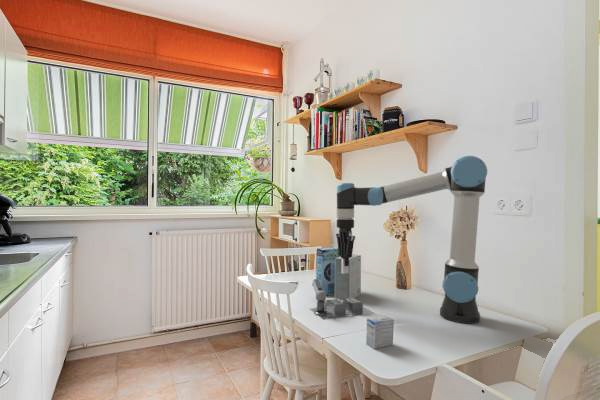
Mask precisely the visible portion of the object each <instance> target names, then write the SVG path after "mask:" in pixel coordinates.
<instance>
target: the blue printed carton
mask: <svg viewBox="0 0 600 400" xmlns="http://www.w3.org/2000/svg"><path fill="white" fill-rule="evenodd" d="M337 257H340V256H339V252H338V246H332V247H322V248H316V264H315V265H316V266H315V268H316V269H315V279H318V280H319V282H320V284H321V286H322V288H323V290H324V291H326V296H327V295H328V296H329V295H333V294H334V295H335V258H337Z"/></svg>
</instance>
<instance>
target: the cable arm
mask: <svg viewBox="0 0 600 400" xmlns="http://www.w3.org/2000/svg"><path fill="white" fill-rule="evenodd" d="M311 282H312V284H311V286H312V287H313V290H314V292H315V300H316V301H317V300H321V301H322V300H325V301H326V300H327V295H326V291H324V290H323V288H322V286H321V284H320V282H319V280H318V279H316V278H315V279H312V281H311Z"/></svg>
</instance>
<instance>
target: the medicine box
mask: <svg viewBox="0 0 600 400" xmlns="http://www.w3.org/2000/svg"><path fill="white" fill-rule="evenodd" d="M394 322H395V320H394V319H393V318H391V317H390V316H387V315H379V316H374V317H369V318H367V319H366V335H365V336H366V337H365V339H366V340H365V341H366V345H367V346H369V347H370V348H372V349H374V350H377V349H380V348H386V347H389V346H393V344H394V324H395V323H394Z"/></svg>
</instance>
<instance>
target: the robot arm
mask: <svg viewBox="0 0 600 400" xmlns="http://www.w3.org/2000/svg"><path fill="white" fill-rule="evenodd" d="M487 175H488V167H487V165H486V163H485V161H483V160H482V159H481V158H480V157H477V156H475V155H465V156H462V157H459V158H458V159H456V160H455V161H454V162H453V164H452V166H449V167H446V168H444V169H443V171H439V172H435V173H432V174H428V175H424V176H420V177H416V178H411V179H408V180H403V181H400V182H395V183H391V184H388V185H384V186H378V187H374V186H373V187H355V184H354V183H353V182H340V183H338V184H337V186H336V187H337V188H336V218H337V219H336V228H338V229H339V230H338V233H336V234H335V236H336V239H337V241H336V244H337V247H338V252H339V256H341V258H342V266H341V273H343V274H346V273H349V258H350V257H352V254H353V251H354V250H353V249H354V243H355V240H356V236H355V235H353V234H352V233H353V231H352V229H353V228H355V220H354V218H355V206H372V207H374V206H375V207H376V206H381V205H384V204H386V203H391V202H396V201H399V200H404V199H410V198H413V197H417V196H421V195H426V194H431V193H435V192H440V191H444V190H448V191H450V193H451V194H452V195H453V210H452V211H453V212H452V221H451V222H452V224H451V236H450V237H451V239H450V250H449V259H447V260H446V261H445V262H444V274H443V280H442V288H443V291H444V297H443V301H442V303H441V307H440V308H439V316H440V317H442V318H443V319H444V320H448V321H452V322H456V323H461V324H475V323H478V322H481V314H480V311H479V308H478V307H479V306H478V304H477V299H476V298H477V297H476V296H477V295H478V292H479V271H480V270H479V269H480V266H479V265H478V264H477V263H476V249H477V247H476V246H477V237H478V236H477V235H478V225H479V223H478V222H479V220H478V219H479V211H480V208H479V207H480V198H481V197H482V196H483V195H485V190H486V189H485V188H486V178H487Z"/></svg>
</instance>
